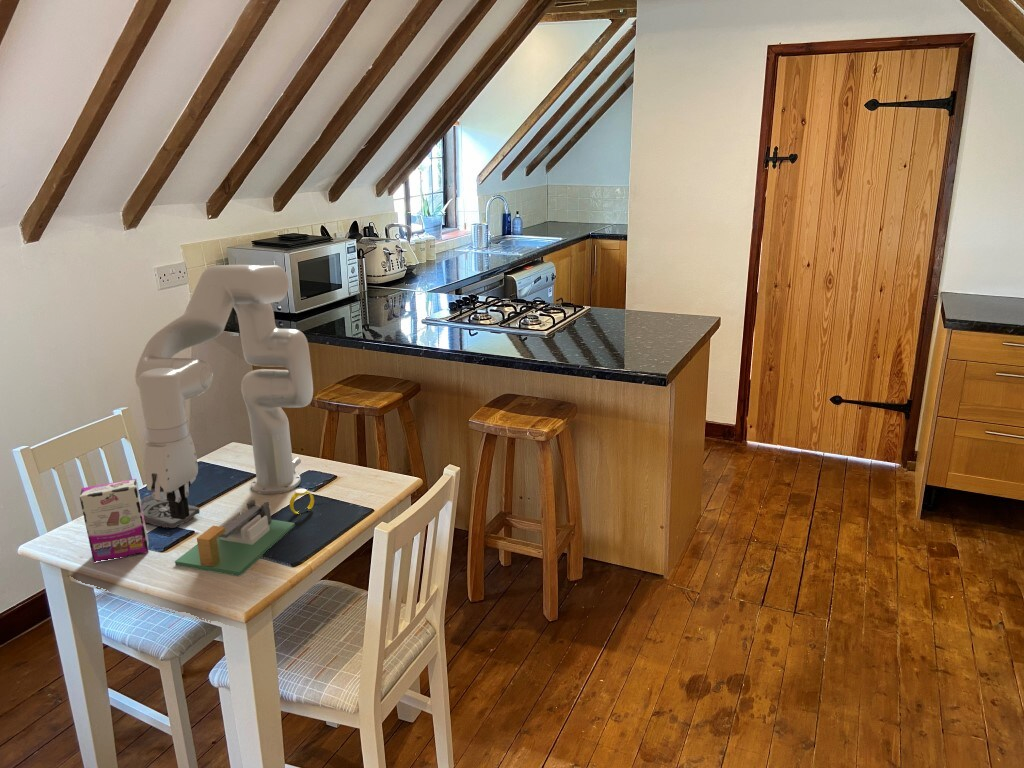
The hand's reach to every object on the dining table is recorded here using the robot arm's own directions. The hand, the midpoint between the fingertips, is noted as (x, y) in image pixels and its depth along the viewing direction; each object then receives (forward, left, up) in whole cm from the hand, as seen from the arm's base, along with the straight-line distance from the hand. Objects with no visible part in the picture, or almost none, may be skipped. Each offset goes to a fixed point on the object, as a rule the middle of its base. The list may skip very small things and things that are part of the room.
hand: (180, 516), depth 156 cm
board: (-16, 0, -16) cm, 23 cm away
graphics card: (-22, -26, -16) cm, 37 cm away
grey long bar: (-19, 0, -11) cm, 22 cm away
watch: (-34, +6, -16) cm, 38 cm away
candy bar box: (-6, -23, -16) cm, 29 cm away
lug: (-8, 0, -15) cm, 17 cm away
